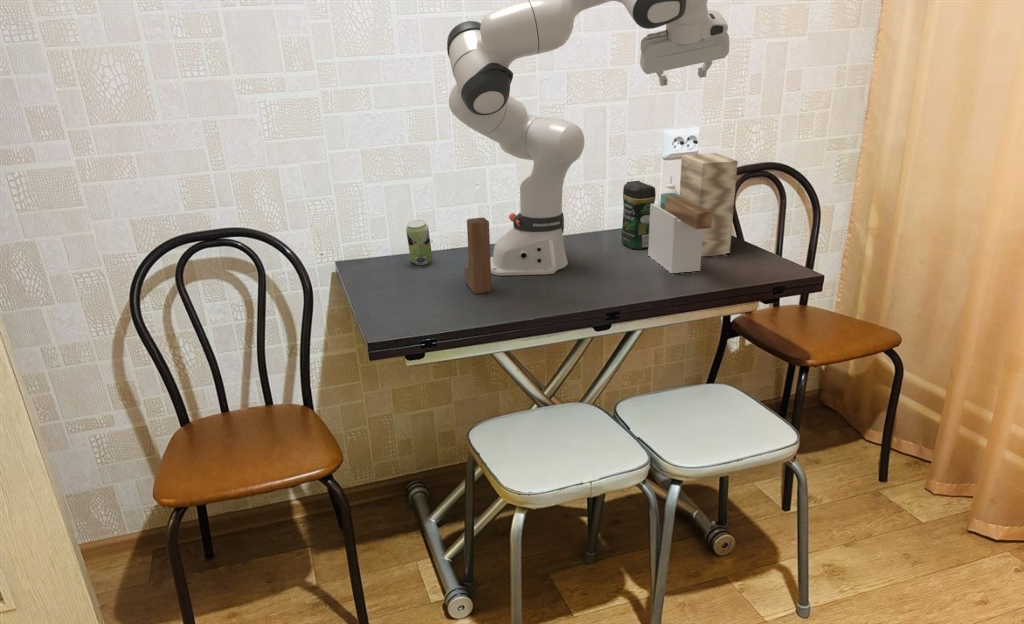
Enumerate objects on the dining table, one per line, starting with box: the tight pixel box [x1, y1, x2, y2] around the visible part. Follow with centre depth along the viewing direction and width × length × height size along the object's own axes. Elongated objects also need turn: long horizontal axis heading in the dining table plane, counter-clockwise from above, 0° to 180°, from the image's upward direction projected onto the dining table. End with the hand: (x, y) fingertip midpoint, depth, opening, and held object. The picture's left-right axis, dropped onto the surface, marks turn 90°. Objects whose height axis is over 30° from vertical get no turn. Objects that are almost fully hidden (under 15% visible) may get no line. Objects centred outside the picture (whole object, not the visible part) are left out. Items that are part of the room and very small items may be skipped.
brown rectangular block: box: [660, 193, 712, 229], centre depth 191 cm, size 4×22×4 cm, turn 12°
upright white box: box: [647, 203, 703, 274], centre depth 199 cm, size 8×16×15 cm, turn 12°
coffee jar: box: [621, 180, 656, 250], centre depth 215 cm, size 10×8×19 cm
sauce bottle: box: [656, 176, 680, 207], centre depth 225 cm, size 8×8×18 cm
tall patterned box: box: [679, 152, 739, 256], centre depth 208 cm, size 10×13×26 cm
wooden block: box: [464, 217, 492, 295], centre depth 184 cm, size 9×4×18 cm, turn 18°
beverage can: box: [405, 219, 433, 266], centre depth 205 cm, size 6×7×12 cm
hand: (682, 80), depth 177 cm, fingers open, 8 cm apart
